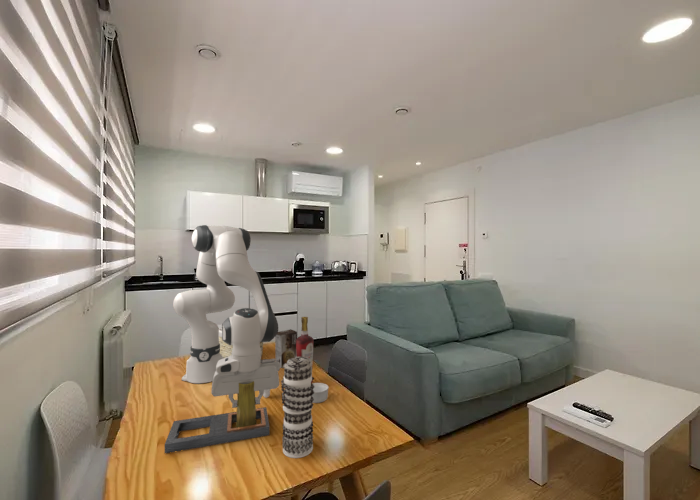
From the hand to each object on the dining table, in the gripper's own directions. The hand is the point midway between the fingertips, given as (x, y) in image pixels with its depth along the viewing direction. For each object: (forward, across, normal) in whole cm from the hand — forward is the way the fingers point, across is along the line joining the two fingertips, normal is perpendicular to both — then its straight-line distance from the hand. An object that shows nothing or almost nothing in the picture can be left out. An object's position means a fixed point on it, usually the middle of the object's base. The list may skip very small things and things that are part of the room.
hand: (246, 405), depth 102 cm
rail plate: (+7, +7, 0) cm, 10 cm away
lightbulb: (+7, -8, -20) cm, 22 cm away
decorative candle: (+7, -14, +16) cm, 22 cm away
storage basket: (+8, +3, -74) cm, 75 cm away
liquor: (+7, -24, -27) cm, 36 cm away
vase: (+6, 0, 0) cm, 6 cm away
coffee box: (+7, -20, -54) cm, 58 cm away
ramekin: (+7, -26, -13) cm, 30 cm away
